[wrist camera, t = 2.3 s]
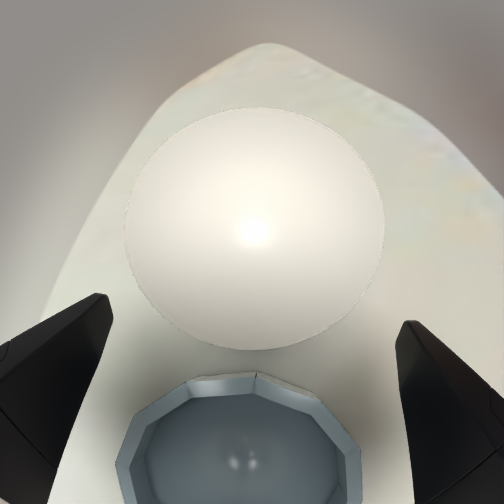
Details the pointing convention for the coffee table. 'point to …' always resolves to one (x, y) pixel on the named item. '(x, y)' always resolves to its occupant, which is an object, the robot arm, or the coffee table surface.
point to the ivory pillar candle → (254, 228)
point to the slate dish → (238, 446)
